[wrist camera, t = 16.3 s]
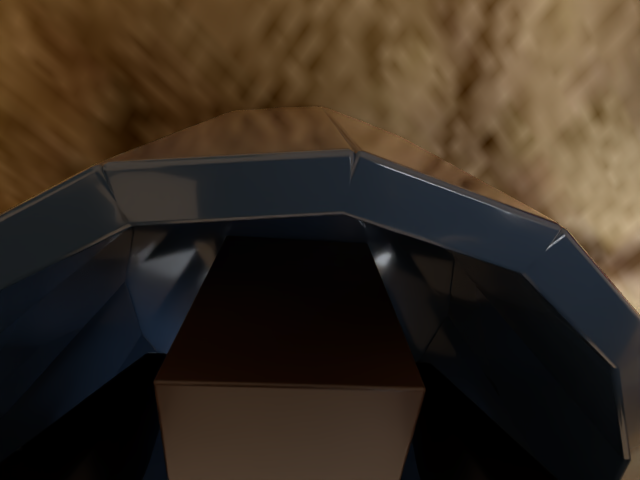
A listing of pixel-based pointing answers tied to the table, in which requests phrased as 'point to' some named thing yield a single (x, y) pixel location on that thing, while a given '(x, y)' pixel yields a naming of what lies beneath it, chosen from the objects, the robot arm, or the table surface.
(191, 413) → the block
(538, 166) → the table surface
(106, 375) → the tin
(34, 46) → the table surface
